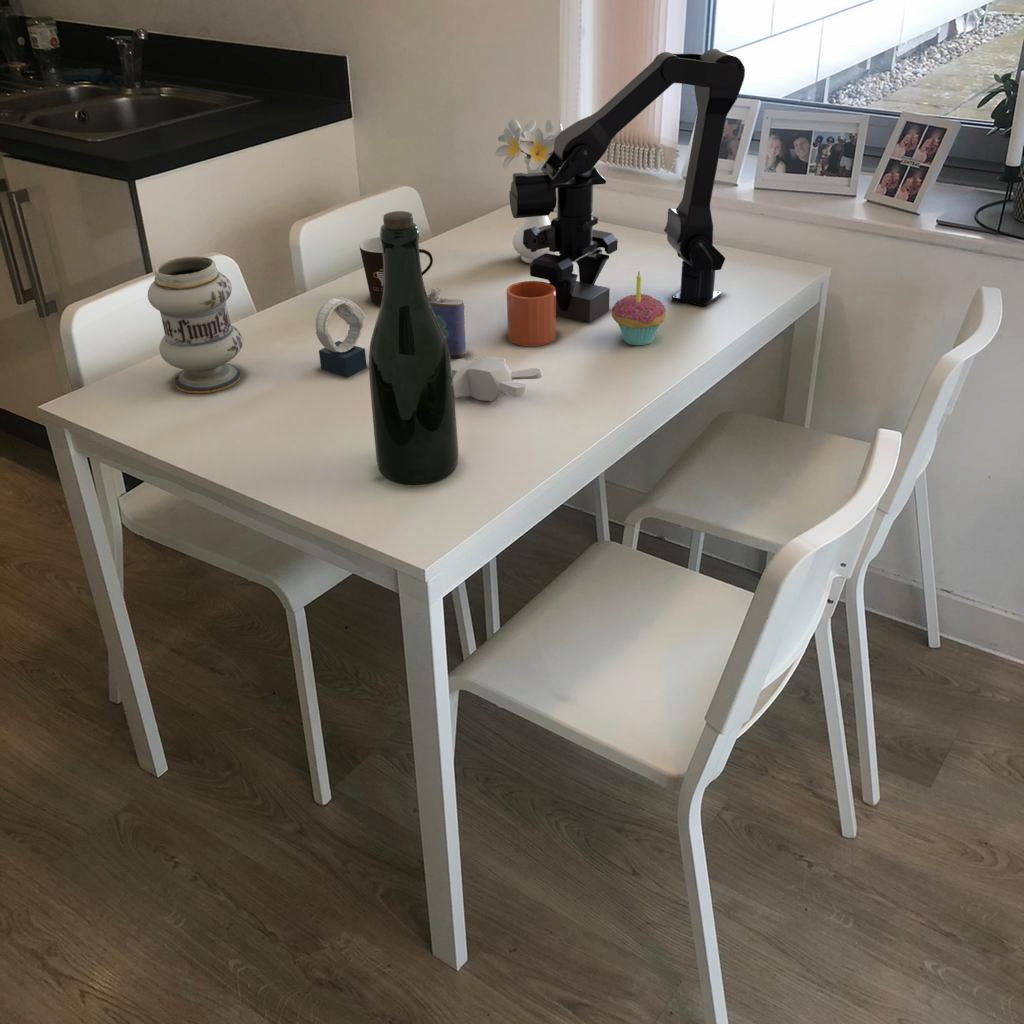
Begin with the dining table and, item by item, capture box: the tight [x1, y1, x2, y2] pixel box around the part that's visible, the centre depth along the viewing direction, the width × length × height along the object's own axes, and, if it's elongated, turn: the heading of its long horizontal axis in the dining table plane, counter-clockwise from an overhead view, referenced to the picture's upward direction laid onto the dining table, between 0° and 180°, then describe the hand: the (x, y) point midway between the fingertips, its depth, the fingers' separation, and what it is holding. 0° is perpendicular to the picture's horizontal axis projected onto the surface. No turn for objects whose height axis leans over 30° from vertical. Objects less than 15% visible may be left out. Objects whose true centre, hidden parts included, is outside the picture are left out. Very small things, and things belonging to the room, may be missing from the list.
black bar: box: [548, 280, 611, 324], centre depth 181 cm, size 6×10×4 cm, turn 55°
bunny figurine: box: [451, 356, 543, 402], centre depth 155 cm, size 10×5×15 cm
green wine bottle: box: [368, 210, 459, 487], centre depth 129 cm, size 10×10×33 cm
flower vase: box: [495, 118, 564, 264], centre depth 198 cm, size 13×18×25 cm
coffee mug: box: [358, 236, 434, 307], centre depth 185 cm, size 12×9×10 cm
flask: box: [427, 286, 467, 359], centre depth 166 cm, size 9×3×11 cm, turn 68°
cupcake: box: [611, 271, 667, 346], centre depth 168 cm, size 9×8×12 cm
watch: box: [315, 296, 368, 378], centre depth 162 cm, size 6×8×11 cm
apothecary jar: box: [147, 255, 244, 395], centre depth 158 cm, size 12×12×18 cm
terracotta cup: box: [506, 280, 557, 347], centre depth 171 cm, size 8×8×8 cm
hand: (574, 303), depth 182 cm, fingers closed on black bar, 6 cm apart
